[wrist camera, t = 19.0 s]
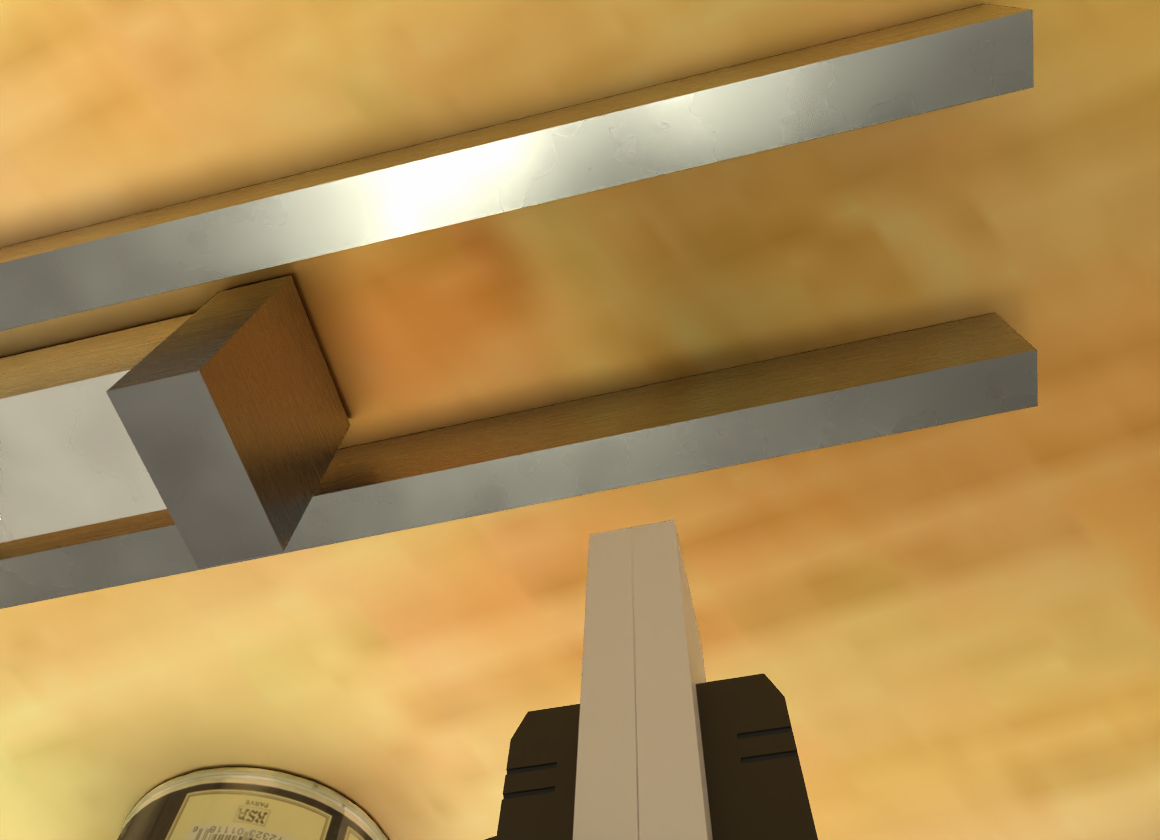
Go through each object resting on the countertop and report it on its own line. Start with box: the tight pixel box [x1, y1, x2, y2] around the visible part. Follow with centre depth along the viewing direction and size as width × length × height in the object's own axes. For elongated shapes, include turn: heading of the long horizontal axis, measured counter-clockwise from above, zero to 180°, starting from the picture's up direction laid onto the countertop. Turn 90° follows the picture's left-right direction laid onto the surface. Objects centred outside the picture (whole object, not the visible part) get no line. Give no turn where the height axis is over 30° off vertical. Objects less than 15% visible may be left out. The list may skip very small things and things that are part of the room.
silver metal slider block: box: [0, 275, 350, 569], centre depth 22 cm, size 12×4×6 cm, turn 103°
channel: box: [0, 4, 1038, 609], centre depth 22 cm, size 38×9×6 cm, turn 103°
